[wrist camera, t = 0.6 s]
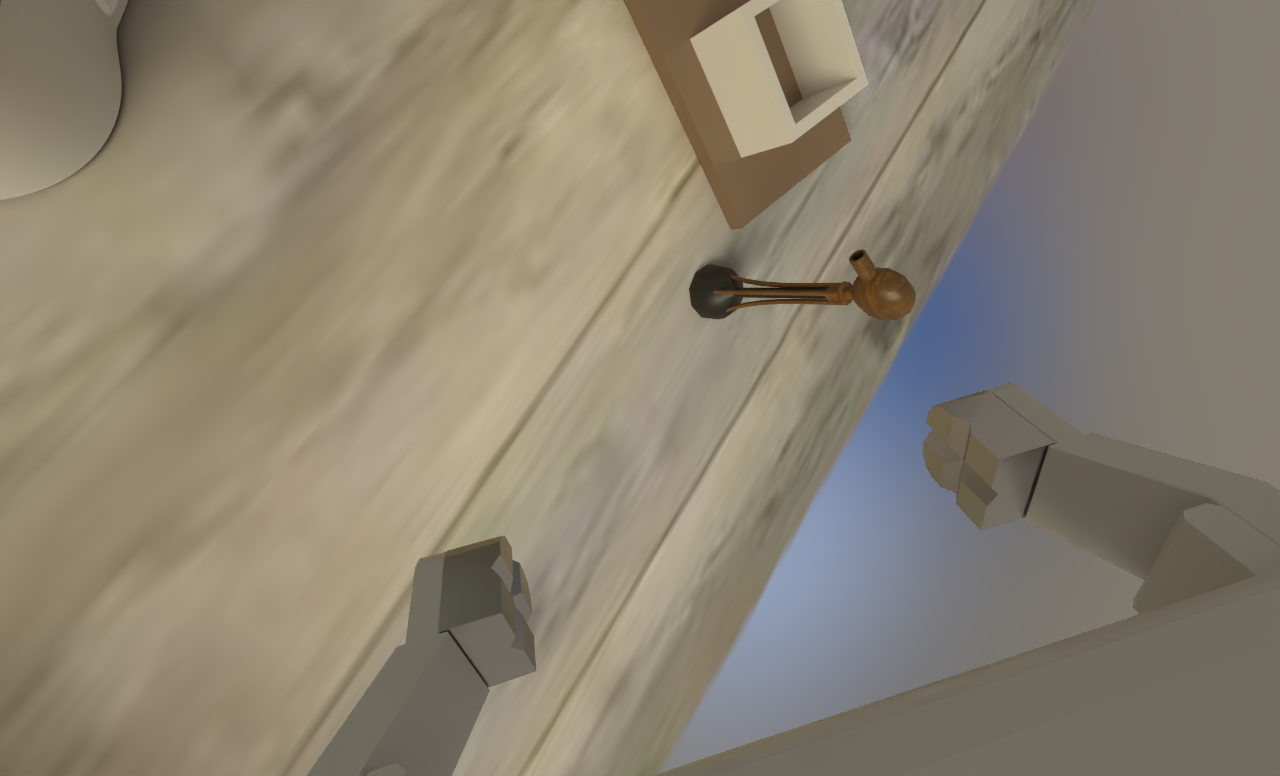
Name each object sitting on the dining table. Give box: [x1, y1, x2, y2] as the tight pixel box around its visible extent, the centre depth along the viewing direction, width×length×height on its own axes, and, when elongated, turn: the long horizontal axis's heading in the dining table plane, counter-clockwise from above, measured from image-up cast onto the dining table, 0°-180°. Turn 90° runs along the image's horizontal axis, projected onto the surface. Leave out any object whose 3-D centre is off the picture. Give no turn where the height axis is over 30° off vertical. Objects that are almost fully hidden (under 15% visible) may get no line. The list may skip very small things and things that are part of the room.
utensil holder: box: [624, 0, 868, 229], centre depth 47 cm, size 20×16×8 cm
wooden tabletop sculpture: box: [689, 250, 916, 320], centre depth 43 cm, size 6×5×20 cm
